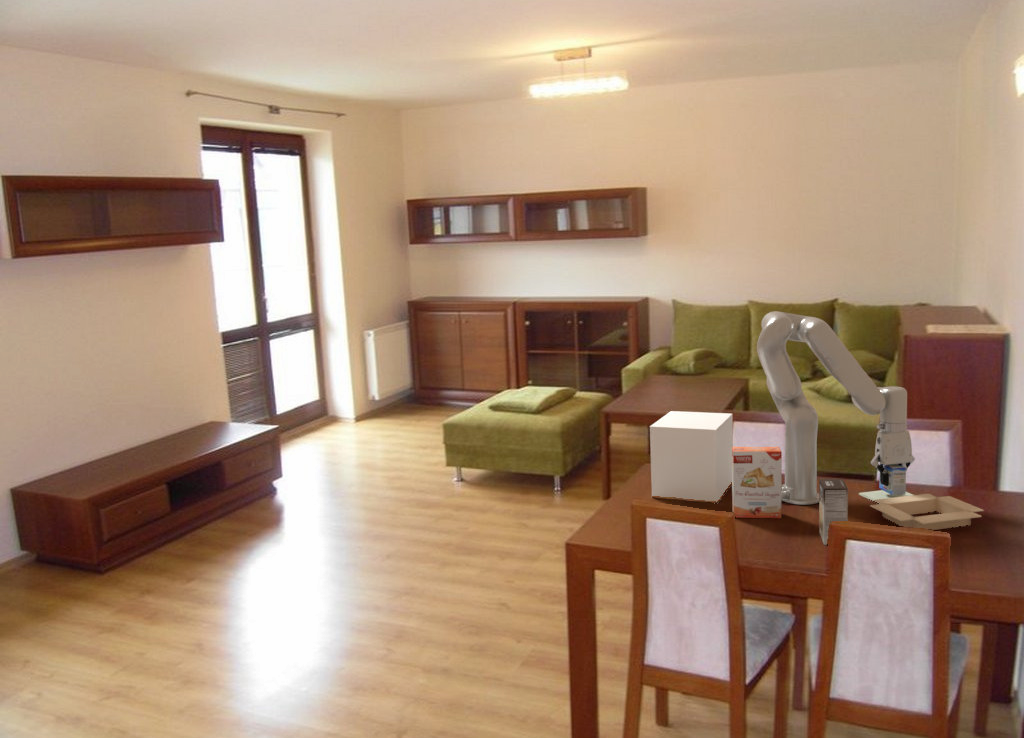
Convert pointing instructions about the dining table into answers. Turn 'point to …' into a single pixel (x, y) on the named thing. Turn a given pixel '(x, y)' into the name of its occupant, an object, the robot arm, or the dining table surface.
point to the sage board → (880, 495)
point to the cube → (691, 455)
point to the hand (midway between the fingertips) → (892, 483)
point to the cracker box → (756, 482)
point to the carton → (949, 507)
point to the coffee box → (831, 504)
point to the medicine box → (895, 480)
